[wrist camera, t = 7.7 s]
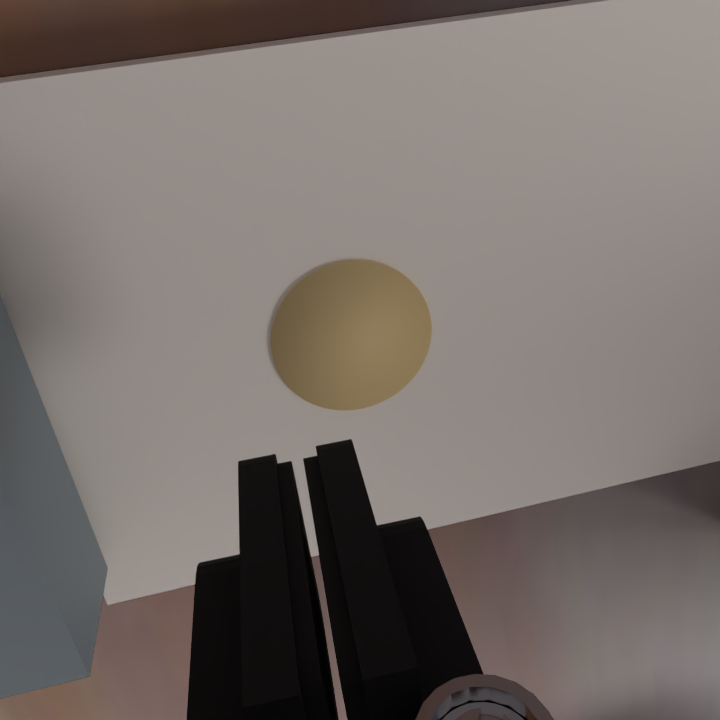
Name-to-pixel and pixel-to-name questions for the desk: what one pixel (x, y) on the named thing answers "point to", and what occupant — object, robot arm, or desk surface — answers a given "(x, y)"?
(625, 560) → the desk surface
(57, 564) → the housing
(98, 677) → the desk surface
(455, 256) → the board
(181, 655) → the desk surface
